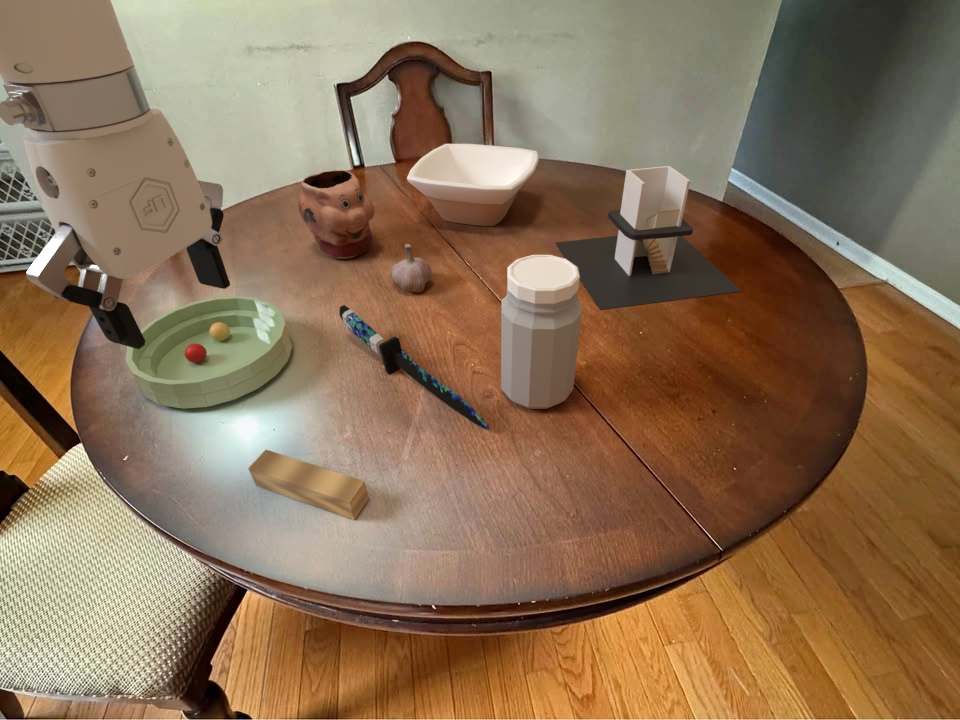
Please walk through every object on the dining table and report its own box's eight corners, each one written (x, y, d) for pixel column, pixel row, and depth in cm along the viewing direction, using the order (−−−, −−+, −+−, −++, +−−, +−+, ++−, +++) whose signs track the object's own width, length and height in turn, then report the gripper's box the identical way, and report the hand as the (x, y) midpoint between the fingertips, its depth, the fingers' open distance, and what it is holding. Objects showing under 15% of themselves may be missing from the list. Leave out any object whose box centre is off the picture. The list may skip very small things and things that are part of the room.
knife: (339, 329, 84) (335, 305, 81) (356, 321, 86) (353, 297, 83) (472, 454, 68) (474, 431, 65) (490, 441, 70) (492, 418, 67)
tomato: (198, 361, 77) (207, 366, 80) (203, 342, 78) (212, 347, 80) (178, 359, 77) (188, 364, 80) (183, 340, 78) (192, 345, 80)
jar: (588, 389, 74) (604, 270, 63) (539, 425, 69) (547, 303, 58) (533, 356, 80) (539, 242, 69) (484, 388, 75) (482, 270, 64)
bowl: (517, 244, 108) (518, 191, 101) (401, 229, 114) (395, 178, 107) (544, 197, 125) (547, 149, 119) (442, 187, 131) (439, 141, 125)
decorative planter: (285, 242, 110) (267, 172, 102) (336, 222, 117) (323, 155, 109) (347, 274, 100) (332, 200, 91) (398, 250, 107) (389, 179, 98)
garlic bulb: (425, 298, 93) (421, 255, 88) (384, 294, 94) (378, 252, 89) (437, 276, 99) (434, 234, 94) (398, 272, 100) (393, 231, 95)
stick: (369, 498, 61) (365, 480, 59) (354, 520, 59) (349, 502, 57) (272, 466, 65) (265, 449, 63) (255, 485, 63) (247, 468, 61)
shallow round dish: (137, 431, 70) (120, 401, 67) (144, 342, 85) (130, 315, 82) (303, 386, 76) (294, 357, 73) (282, 310, 91) (274, 284, 88)
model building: (600, 309, 89) (613, 213, 79) (554, 242, 108) (560, 157, 98) (742, 291, 93) (772, 196, 82) (674, 229, 111) (692, 145, 101)
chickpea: (219, 316, 82) (204, 323, 82) (219, 333, 80) (205, 340, 81) (234, 323, 84) (219, 329, 85) (234, 340, 83) (220, 346, 84)
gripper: (-7, 146, 30) (124, 383, 41) (218, 77, 43) (274, 273, 53) (-92, 133, 33) (53, 361, 43) (145, 71, 45) (213, 260, 56)
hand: (175, 312), depth 48 cm, fingers open, 9 cm apart
